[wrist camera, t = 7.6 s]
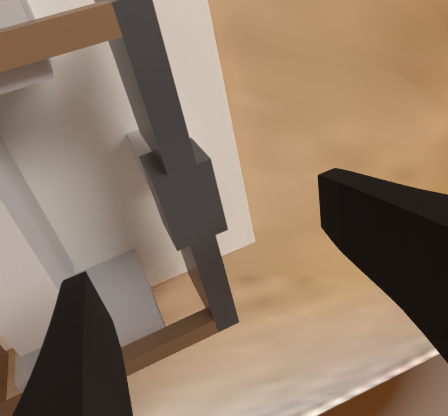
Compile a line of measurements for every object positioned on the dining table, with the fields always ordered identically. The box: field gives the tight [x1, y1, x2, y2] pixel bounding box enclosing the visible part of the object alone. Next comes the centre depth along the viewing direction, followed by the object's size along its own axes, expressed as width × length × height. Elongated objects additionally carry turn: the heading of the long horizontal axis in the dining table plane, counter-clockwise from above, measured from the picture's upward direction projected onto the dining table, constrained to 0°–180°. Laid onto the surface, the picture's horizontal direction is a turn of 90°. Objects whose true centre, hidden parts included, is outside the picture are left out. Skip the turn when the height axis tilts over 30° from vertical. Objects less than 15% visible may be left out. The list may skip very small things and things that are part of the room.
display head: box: [0, 0, 255, 394], centre depth 16 cm, size 16×16×6 cm
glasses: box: [0, 0, 239, 416], centre depth 14 cm, size 12×13×4 cm
